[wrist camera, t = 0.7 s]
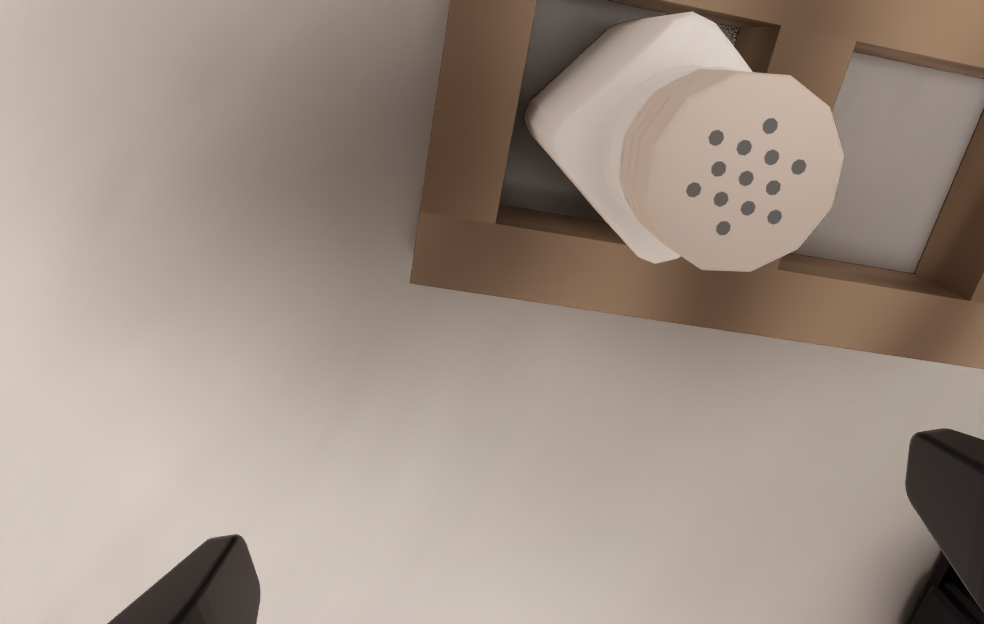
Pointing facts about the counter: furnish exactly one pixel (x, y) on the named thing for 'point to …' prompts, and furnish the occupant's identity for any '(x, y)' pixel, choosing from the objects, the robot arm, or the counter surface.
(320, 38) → the counter surface
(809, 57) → the wooden compartment tray
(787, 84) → the pepper shaker
